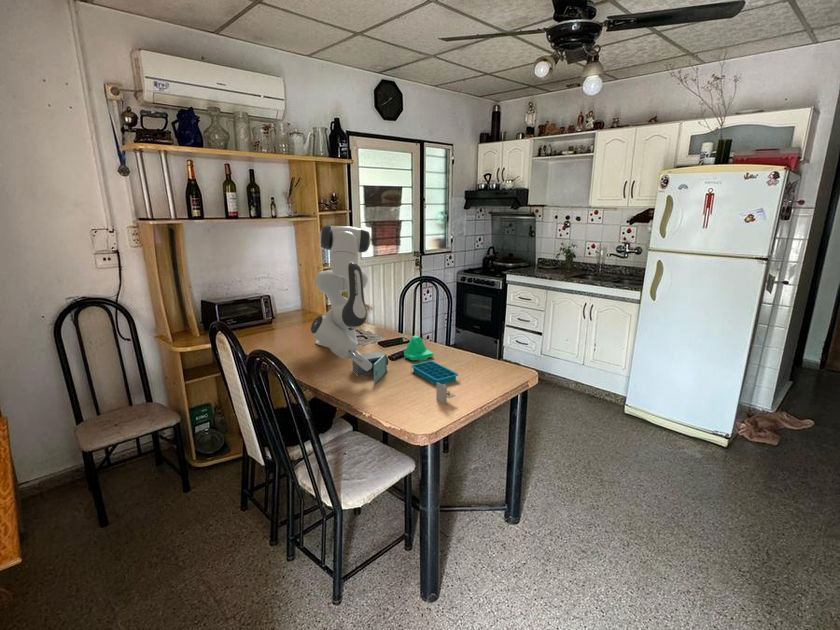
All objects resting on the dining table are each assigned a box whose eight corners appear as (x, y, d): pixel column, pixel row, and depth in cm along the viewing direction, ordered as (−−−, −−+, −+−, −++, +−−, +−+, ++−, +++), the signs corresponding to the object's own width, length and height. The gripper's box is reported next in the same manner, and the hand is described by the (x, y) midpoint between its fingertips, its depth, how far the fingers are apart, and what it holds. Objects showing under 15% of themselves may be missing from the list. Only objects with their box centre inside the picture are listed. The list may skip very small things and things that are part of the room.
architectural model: (442, 398, 165) (443, 379, 163) (455, 404, 160) (455, 385, 158) (435, 400, 163) (436, 382, 161) (448, 407, 158) (448, 388, 156)
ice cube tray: (431, 366, 197) (431, 360, 196) (459, 381, 181) (459, 374, 180) (409, 371, 191) (409, 365, 190) (436, 387, 175) (436, 380, 174)
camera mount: (412, 362, 201) (412, 341, 199) (404, 358, 208) (403, 337, 205) (434, 358, 208) (434, 337, 205) (425, 353, 214) (425, 333, 211)
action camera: (384, 365, 197) (383, 349, 195) (390, 370, 191) (390, 354, 189) (352, 370, 191) (352, 354, 189) (358, 376, 184) (357, 359, 183)
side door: (384, 371, 190) (384, 353, 188) (387, 372, 189) (387, 354, 187) (373, 383, 177) (373, 364, 175) (376, 383, 177) (376, 364, 175)
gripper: (359, 349, 162) (384, 369, 169) (343, 334, 180) (366, 354, 186) (348, 362, 161) (374, 382, 168) (333, 346, 179) (356, 365, 186)
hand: (369, 367), depth 177 cm, fingers closed
